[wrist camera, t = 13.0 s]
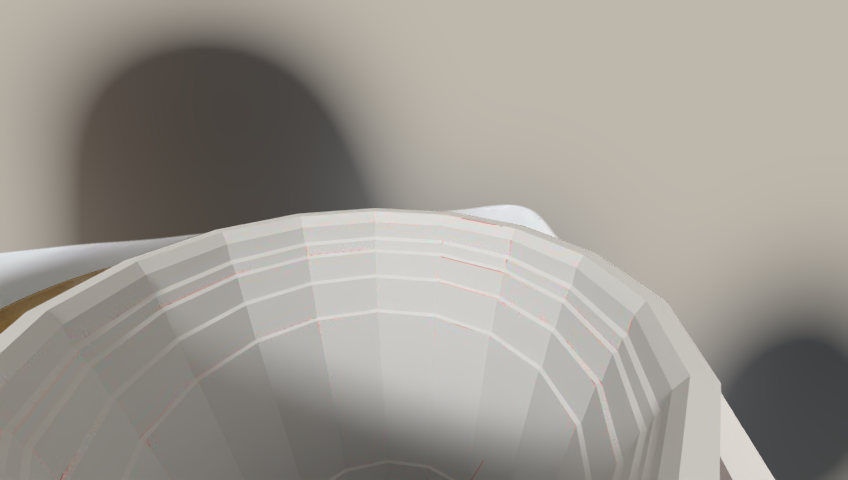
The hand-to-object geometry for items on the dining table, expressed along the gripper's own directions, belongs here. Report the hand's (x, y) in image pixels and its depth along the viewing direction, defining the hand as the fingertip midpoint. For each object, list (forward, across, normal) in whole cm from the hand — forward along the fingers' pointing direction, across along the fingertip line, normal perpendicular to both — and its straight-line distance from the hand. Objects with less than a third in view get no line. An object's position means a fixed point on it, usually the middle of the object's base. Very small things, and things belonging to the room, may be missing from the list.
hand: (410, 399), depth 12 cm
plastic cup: (-2, 0, -7) cm, 7 cm away
